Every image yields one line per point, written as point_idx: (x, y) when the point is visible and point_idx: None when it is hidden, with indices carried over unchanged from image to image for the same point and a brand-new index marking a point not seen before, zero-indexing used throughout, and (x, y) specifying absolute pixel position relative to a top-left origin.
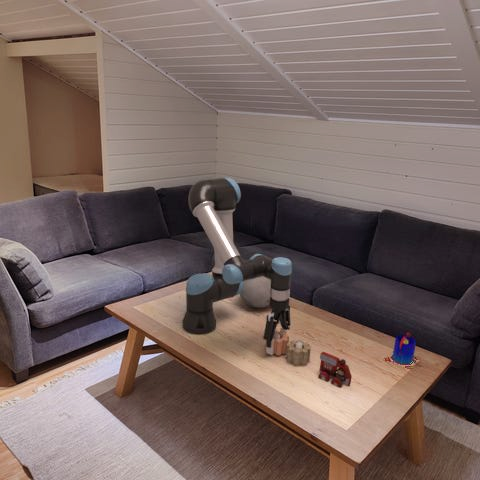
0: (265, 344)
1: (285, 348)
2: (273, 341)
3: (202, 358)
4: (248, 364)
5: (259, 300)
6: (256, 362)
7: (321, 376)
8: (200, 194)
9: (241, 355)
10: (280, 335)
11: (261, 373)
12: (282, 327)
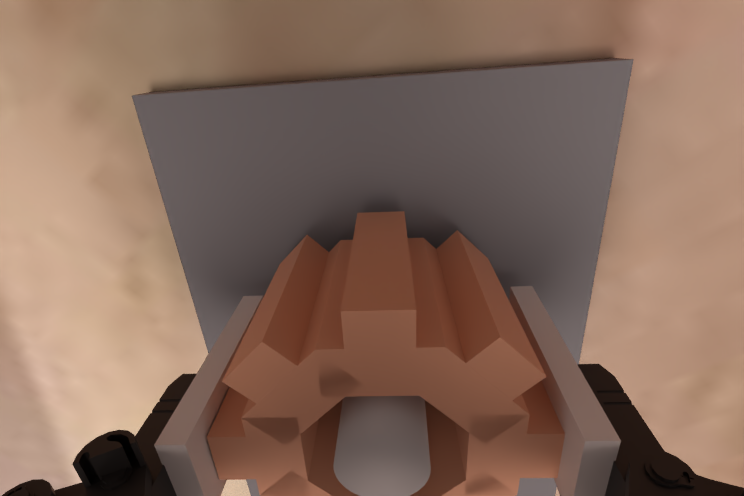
0: (289, 267)
1: None
2: (215, 493)
3: None
4: (64, 212)
5: None
6: (148, 244)
7: None
8: None
9: (89, 51)
10: (462, 442)
11: (89, 351)
12: (627, 476)
